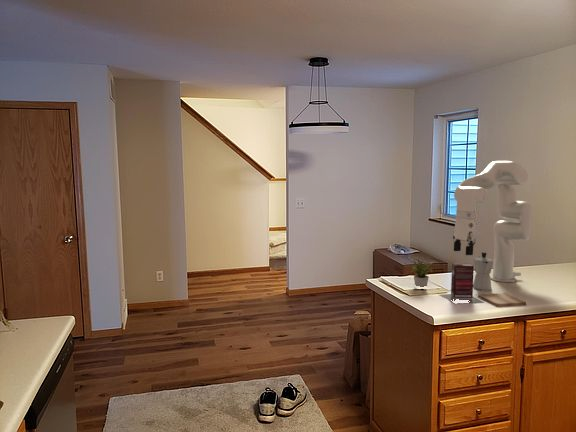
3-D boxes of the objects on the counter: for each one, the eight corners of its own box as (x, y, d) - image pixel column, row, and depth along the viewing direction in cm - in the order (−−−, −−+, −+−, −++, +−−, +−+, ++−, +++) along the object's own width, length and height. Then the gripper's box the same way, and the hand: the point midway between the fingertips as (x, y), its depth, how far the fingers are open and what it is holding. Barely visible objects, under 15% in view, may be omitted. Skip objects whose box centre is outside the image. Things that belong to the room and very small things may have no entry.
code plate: (466, 293, 208) (466, 293, 208) (484, 302, 194) (484, 302, 194) (439, 295, 205) (439, 294, 205) (455, 304, 192) (455, 303, 192)
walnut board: (505, 295, 204) (505, 292, 204) (526, 304, 191) (526, 302, 190) (477, 296, 202) (478, 294, 202) (496, 306, 188) (497, 303, 188)
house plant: (397, 287, 217) (398, 255, 215) (413, 282, 226) (414, 251, 224) (422, 294, 206) (423, 260, 205) (438, 288, 215) (439, 256, 213)
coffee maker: (495, 292, 209) (497, 255, 207) (475, 291, 211) (477, 254, 209) (487, 284, 224) (489, 249, 222) (469, 283, 226) (470, 248, 224)
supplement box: (469, 296, 202) (471, 263, 200) (472, 300, 197) (474, 265, 195) (450, 296, 202) (451, 263, 201) (452, 299, 198) (454, 265, 196)
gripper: (484, 217, 187) (482, 256, 189) (462, 213, 204) (460, 249, 206) (468, 217, 186) (466, 256, 188) (447, 213, 203) (445, 249, 205)
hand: (462, 252), depth 197 cm, fingers open, 9 cm apart
